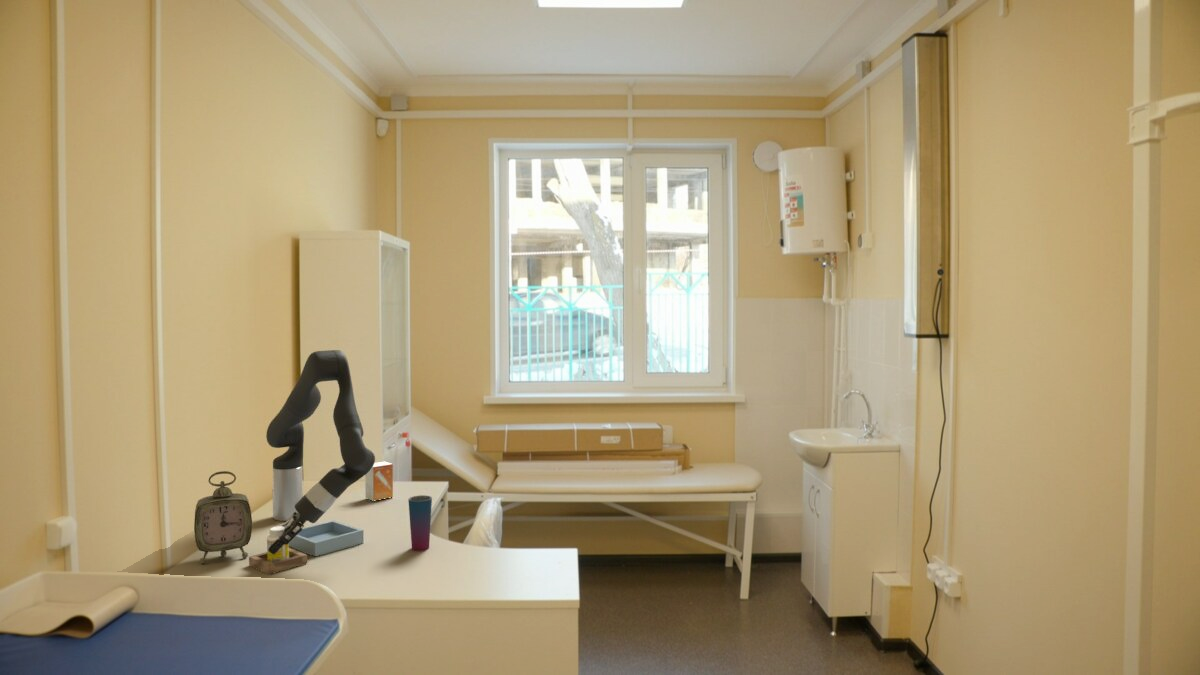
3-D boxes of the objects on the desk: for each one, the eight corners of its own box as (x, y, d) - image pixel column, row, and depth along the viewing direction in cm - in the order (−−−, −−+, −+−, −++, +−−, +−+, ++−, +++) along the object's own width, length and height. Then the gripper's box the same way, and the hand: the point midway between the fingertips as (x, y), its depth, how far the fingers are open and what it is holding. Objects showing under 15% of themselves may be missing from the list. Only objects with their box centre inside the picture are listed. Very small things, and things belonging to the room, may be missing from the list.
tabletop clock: (195, 567, 211) (193, 477, 209) (195, 557, 219) (193, 470, 217) (252, 559, 217) (251, 471, 216) (250, 549, 225) (249, 465, 224)
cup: (436, 546, 229) (436, 496, 228) (422, 553, 223) (422, 502, 222) (418, 543, 232) (418, 494, 231) (403, 549, 226) (403, 499, 225)
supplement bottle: (283, 559, 217) (282, 524, 216) (292, 564, 213) (292, 528, 213) (263, 565, 212) (263, 528, 212) (273, 569, 209) (272, 532, 208)
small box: (373, 502, 278) (373, 466, 278) (365, 499, 283) (364, 464, 282) (393, 498, 284) (393, 463, 283) (385, 495, 288) (384, 460, 288)
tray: (285, 545, 229) (285, 532, 229) (333, 532, 242) (333, 520, 242) (315, 556, 219) (315, 543, 219) (363, 543, 232) (363, 530, 232)
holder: (249, 565, 212) (248, 556, 212) (286, 555, 221) (286, 546, 220) (269, 574, 205) (269, 565, 205) (307, 563, 214) (307, 554, 214)
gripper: (305, 487, 221) (261, 532, 217) (306, 499, 208) (259, 548, 204) (325, 504, 223) (282, 549, 220) (327, 517, 210) (280, 565, 206)
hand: (271, 548), depth 212 cm, fingers closed on supplement bottle, 5 cm apart
